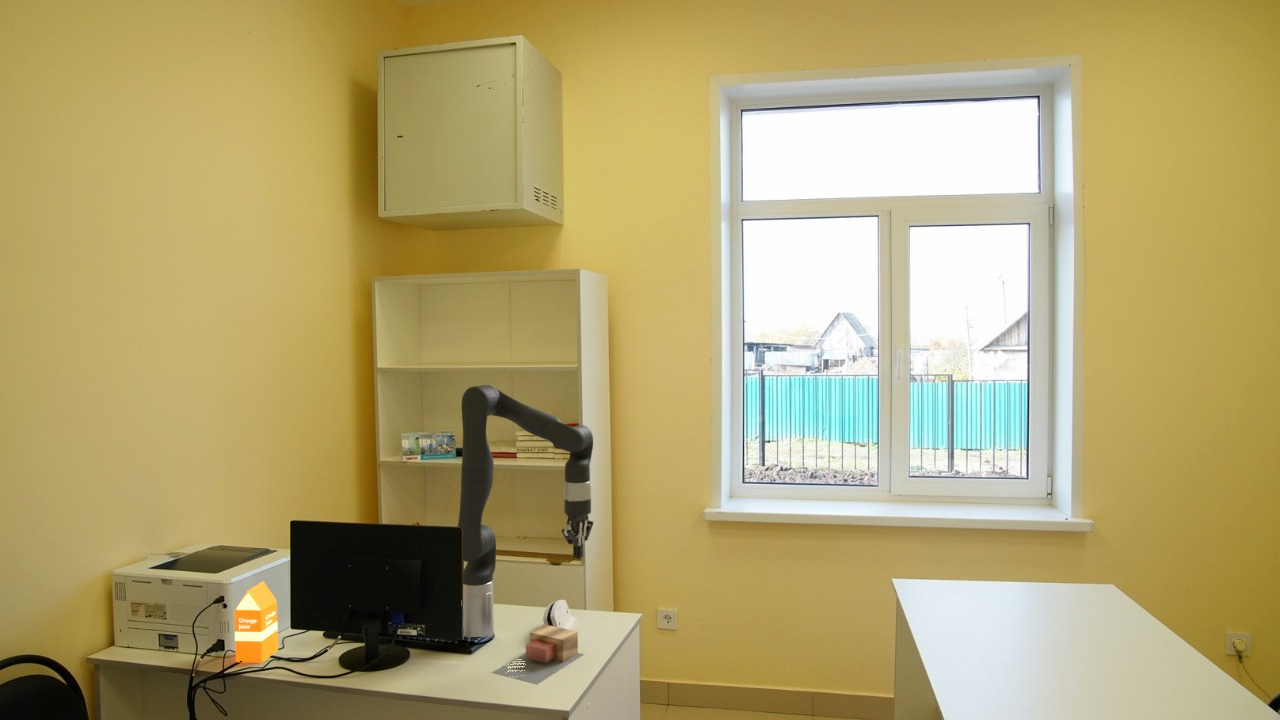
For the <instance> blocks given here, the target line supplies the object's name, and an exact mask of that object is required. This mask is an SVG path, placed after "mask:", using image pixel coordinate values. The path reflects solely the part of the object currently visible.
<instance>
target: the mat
mask: <svg viewBox="0 0 1280 720" xmlns="http://www.w3.org/2000/svg"><path fill="white" fill-rule="evenodd" d="M584 655H585V654H584V653H580V652H578V654H576V655H575V656H573V657H572V658H570V659H568V660H567V661H565V662H564V663H563V662H559V661H555V658H553V659H552V660H550V661H548V662H547V663H545V662H540V661H536V660H532V659H528V658H526V652H525V653H524V654H521V655H520V656H518V657H519V658H518V657H516V658H515V659H522V660H514V659H512V661H525V662H520V663H525V664H526V665H525V664H524V665H523V664H521V665H520V664H519V665H517V664H516V665H515V664H514V665H510V664H513V663H514V662H513V663H512V662H511V661H509V662H510V663H509V662H507V663H506V664H504V665H505V666H504V665H502V666H500V667H498V668H497V669H495V670H493V671H492V672H491V673H492V674H497V675H500V676H503V677H507V678H510V677H509V676H511V678H510V679H515V680H519V681H522V682H526V683H529V684H534V685H538V684H540V683H542V682H544V681H545V680H547V679H548V678H549V677H552V676H553V675H554V674H556V673H558V672H559V671H561V670H562V669H564V668H566V667H567V666H569V665H570V664H571V663H573V662H575V661H577V660H578V659H579V658H581V657H583V656H584ZM508 663H509V665H507V664H508ZM515 663H519V662H515ZM506 665H507V666H506ZM508 666H511V667H512V666H525V667H523V668H522V667H520V668H519V667H518V668H517V667H516V668H514V667H513V668H511V669H510V668H509V669H508V668H507V667H508ZM508 670H518V671H516V672H515V671H513V672H512V671H511V672H510V671H509V672H507V671H508ZM519 670H520V671H521V670H523V671H521V672H520V671H519ZM524 670H525V671H524ZM506 672H507V673H506ZM521 675H522V676H521ZM524 675H525V676H524ZM512 676H513V677H514V678H513V677H512ZM515 676H516V677H515ZM517 676H518V677H517Z"/></svg>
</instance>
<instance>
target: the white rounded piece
mask: <svg viewBox="0 0 1280 720" xmlns="http://www.w3.org/2000/svg"><path fill="white" fill-rule="evenodd" d="M542 620H543V621H542V622H543V626H544V625H550V626H554V627H559V628H564V629H568V630H573V631H575V628H576V627H577V626H576V625H578V624H579V622H578V619H577V617H576V616H574V615H572V612H571V611H570V608H569V605H568V603H567V600H565V599H559V600H557V601H553V602H551V603H550V604H548V605H547V606H546V608H545V609H544V613H543V618H542ZM577 623H578V624H577Z"/></svg>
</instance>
